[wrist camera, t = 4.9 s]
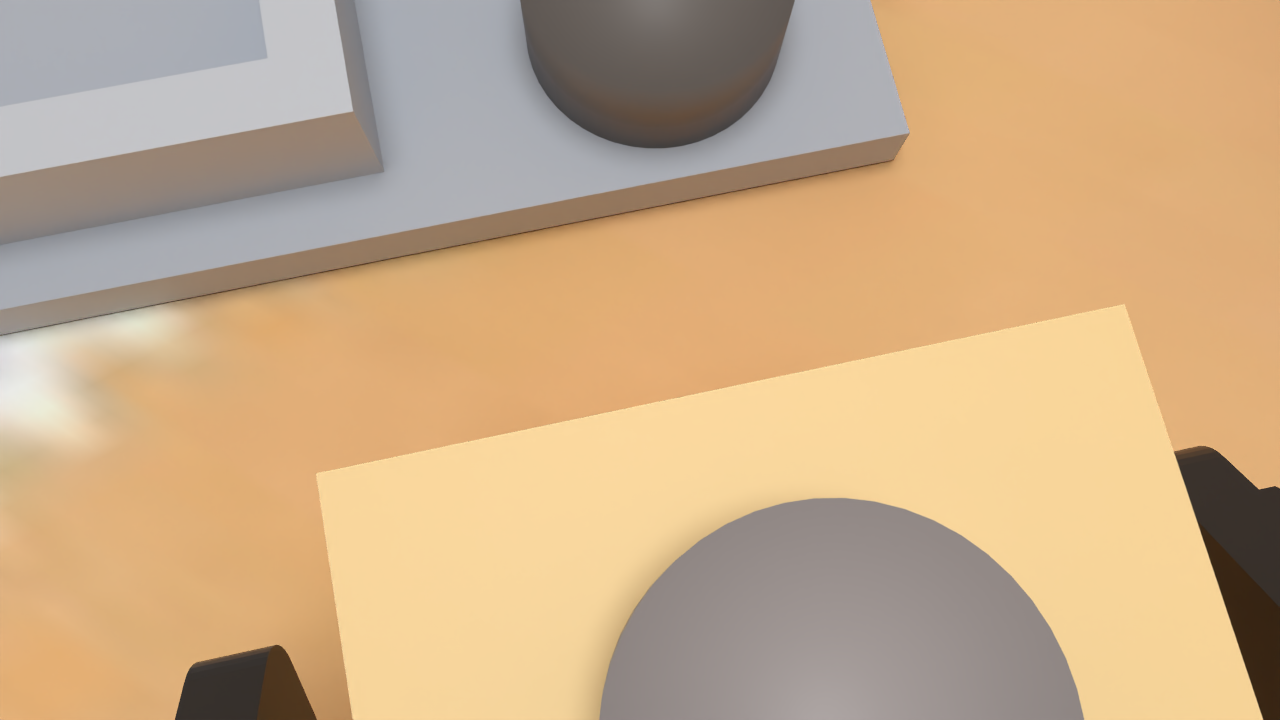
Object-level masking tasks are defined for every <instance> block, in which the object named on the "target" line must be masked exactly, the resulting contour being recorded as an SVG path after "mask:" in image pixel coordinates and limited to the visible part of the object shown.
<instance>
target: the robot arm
mask: <svg viewBox="0 0 1280 720" xmlns="http://www.w3.org/2000/svg"><path fill="white" fill-rule="evenodd" d="M1174 454H1175V457H1176V460H1177V463H1178V466H1179V469H1180V472H1181V475H1182V478H1183V481H1184V484H1185V487H1186V490H1187V493H1188V496H1189V499H1190V502H1191V505H1192V508H1193V511H1194V514H1195V517H1196V520H1197V523H1198V526H1199V529H1200V532H1201V535H1202V538H1203V541H1204V544H1205V547H1206V550H1207V553H1208V556H1209V559H1210V562H1211V565H1212V568H1213V571H1214V574H1215V577H1216V580H1217V583H1218V586H1219V589H1220V592H1221V595H1222V598H1223V601H1224V604H1225V607H1226V610H1227V613H1228V616H1229V619H1230V622H1231V625H1232V628H1233V631H1234V634H1235V637H1236V640H1237V643H1238V646H1239V649H1240V652H1241V655H1242V658H1243V661H1244V664H1245V667H1246V670H1247V673H1248V676H1249V679H1250V682H1251V685H1252V688H1253V691H1254V694H1255V697H1256V700H1257V703H1258V706H1259V709H1260V712H1261V715H1262V718H1263V720H1280V488H1278V487H1276V486H1274V487H1269V488H1265V489H1260V490H1259V489H1258V488H1257V487H1255V486H1254V485H1253V484H1252V483H1251V482H1250V481H1249V480H1248V479H1247V478H1246V477H1245V476H1244V475H1243V474H1242V473H1240V472H1239V471H1238V470H1237V469H1236V468H1235V467H1234V466H1233V465H1232V464H1231V463H1230V462H1229V461H1228V460H1227V459H1226V458H1224V457H1223V456H1222V455H1221V454H1220V453H1219V452H1217V451H1216V450H1214V449H1212V448H1210V447H1206V446H1197V447H1193V448H1188V449H1184V450H1179V451H1175V452H1174ZM175 720H317V719H316V716H315V714H314V712H313V710H312V707H311V705H310V703H309V700H308V698H307V696H306V694H305V691H304V689H303V687H302V685H301V682H300V680H299V678H298V676H297V673H296V671H295V669H294V666H293V664H292V662H291V660H290V658H289V656H288V654H287V652H286V651H285V650H284V649H283V648H282V647H281V646H279V645H274V646H270V647H265V648H261V649H256V650H252V651H247V652H242V653H238V654H233V655H229V656H224V657H219V658H215V659H210V660H206V661H201V662H197V663H195V664H193V665H192V667H191V668H190V669H189V671H188V673H187V676H186V679H185V682H184V686H183V690H182V694H181V698H180V702H179V706H178V710H177V714H176V718H175Z"/></svg>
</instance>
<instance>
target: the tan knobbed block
mask: <svg viewBox="0 0 1280 720" xmlns="http://www.w3.org/2000/svg"><path fill="white" fill-rule="evenodd" d="M316 477H317V484H318V491H319V498H320V504H321V511H322V518H323V524H324V531H325V538H326V545H327V551H328V558H329V565H330V571H331V578H332V585H333V591H334V598H335V605H336V612H337V618H338V625H339V632H340V638H341V645H342V652H343V658H344V665H345V672H346V679H347V685H348V692H349V699H350V705H351V712H352V719H353V720H1263V718H1262V715H1261V712H1260V709H1259V706H1258V703H1257V700H1256V697H1255V694H1254V691H1253V688H1252V685H1251V682H1250V679H1249V676H1248V673H1247V670H1246V667H1245V664H1244V661H1243V658H1242V655H1241V652H1240V649H1239V646H1238V643H1237V640H1236V637H1235V634H1234V631H1233V628H1232V625H1231V622H1230V619H1229V616H1228V613H1227V610H1226V607H1225V604H1224V601H1223V598H1222V595H1221V592H1220V589H1219V586H1218V583H1217V580H1216V577H1215V574H1214V571H1213V568H1212V565H1211V562H1210V559H1209V556H1208V553H1207V550H1206V547H1205V544H1204V541H1203V538H1202V535H1201V532H1200V529H1199V526H1198V523H1197V520H1196V517H1195V514H1194V511H1193V508H1192V505H1191V502H1190V499H1189V496H1188V493H1187V490H1186V487H1185V484H1184V481H1183V478H1182V475H1181V472H1180V469H1179V466H1178V463H1177V460H1176V457H1175V454H1174V451H1173V448H1172V445H1171V442H1170V439H1169V436H1168V433H1167V430H1166V427H1165V424H1164V421H1163V418H1162V415H1161V412H1160V409H1159V406H1158V403H1157V400H1156V397H1155V394H1154V391H1153V388H1152V385H1151V382H1150V379H1149V376H1148V373H1147V370H1146V367H1145V364H1144V361H1143V358H1142V355H1141V352H1140V349H1139V346H1138V343H1137V340H1136V337H1135V334H1134V331H1133V328H1132V325H1131V322H1130V319H1129V316H1128V313H1127V310H1126V307H1125V304H1122V305H1118V306H1113V307H1108V308H1103V309H1099V310H1094V311H1089V312H1084V313H1079V314H1075V315H1070V316H1065V317H1060V318H1056V319H1051V320H1046V321H1041V322H1036V323H1032V324H1027V325H1022V326H1017V327H1013V328H1008V329H1003V330H998V331H993V332H989V333H984V334H979V335H974V336H970V337H965V338H960V339H955V340H950V341H946V342H941V343H936V344H931V345H927V346H922V347H917V348H912V349H907V350H903V351H898V352H893V353H888V354H884V355H879V356H874V357H869V358H865V359H860V360H855V361H850V362H845V363H841V364H836V365H831V366H826V367H822V368H817V369H812V370H807V371H802V372H798V373H793V374H788V375H783V376H779V377H774V378H769V379H764V380H759V381H755V382H750V383H745V384H740V385H736V386H731V387H726V388H721V389H716V390H712V391H707V392H702V393H697V394H693V395H688V396H683V397H678V398H673V399H669V400H664V401H659V402H654V403H650V404H645V405H640V406H635V407H631V408H626V409H621V410H616V411H611V412H607V413H602V414H597V415H592V416H588V417H583V418H578V419H573V420H568V421H564V422H559V423H554V424H549V425H545V426H540V427H535V428H530V429H525V430H521V431H516V432H511V433H506V434H502V435H497V436H492V437H487V438H482V439H478V440H473V441H468V442H463V443H459V444H454V445H449V446H444V447H439V448H435V449H430V450H425V451H420V452H416V453H411V454H406V455H401V456H396V457H392V458H387V459H382V460H377V461H373V462H368V463H363V464H358V465H354V466H349V467H344V468H339V469H334V470H330V471H325V472H320V473H316Z"/></svg>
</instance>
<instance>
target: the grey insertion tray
mask: <svg viewBox="0 0 1280 720" xmlns="http://www.w3.org/2000/svg"><path fill="white" fill-rule="evenodd" d="M909 133H910V132H909V129H908V126H907V122H906V119H905V116H904V112H903V109H902V106H901V102H900V99H899V95H898V92H897V89H896V85H895V82H894V79H893V75H892V72H891V69H890V65H889V62H888V58H887V55H886V52H885V48H884V45H883V42H882V38H881V35H880V31H879V28H878V25H877V21H876V18H875V15H874V11H873V8H872V5H871V1H870V0H0V335H3V334H8V333H13V332H18V331H23V330H28V329H33V328H38V327H43V326H49V325H54V324H59V323H64V322H69V321H74V320H79V319H84V318H89V317H94V316H100V315H105V314H110V313H115V312H120V311H125V310H130V309H135V308H140V307H145V306H151V305H156V304H161V303H166V302H171V301H176V300H181V299H186V298H191V297H196V296H202V295H207V294H212V293H217V292H222V291H227V290H232V289H237V288H242V287H247V286H253V285H258V284H263V283H268V282H273V281H278V280H283V279H288V278H293V277H298V276H304V275H309V274H314V273H319V272H324V271H329V270H334V269H339V268H344V267H349V266H355V265H360V264H365V263H370V262H375V261H380V260H385V259H390V258H395V257H400V256H406V255H411V254H416V253H421V252H426V251H431V250H436V249H441V248H446V247H451V246H456V245H462V244H467V243H472V242H477V241H482V240H487V239H492V238H497V237H502V236H507V235H513V234H518V233H523V232H528V231H533V230H538V229H543V228H548V227H553V226H558V225H564V224H569V223H574V222H579V221H584V220H589V219H594V218H599V217H604V216H609V215H615V214H620V213H625V212H630V211H635V210H640V209H645V208H650V207H655V206H660V205H666V204H671V203H676V202H681V201H686V200H691V199H696V198H701V197H706V196H711V195H717V194H722V193H727V192H732V191H737V190H742V189H747V188H752V187H757V186H762V185H768V184H773V183H778V182H783V181H788V180H793V179H798V178H803V177H808V176H813V175H819V174H824V173H829V172H834V171H839V170H844V169H849V168H854V167H859V166H864V165H870V164H875V163H880V162H885V161H890V160H894V158H895V156H896V155H897V153H898V151H899V150H900V148H901V146H902V145H903V143H904V142H905V140H906V138H907V137H908V135H909Z"/></svg>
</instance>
